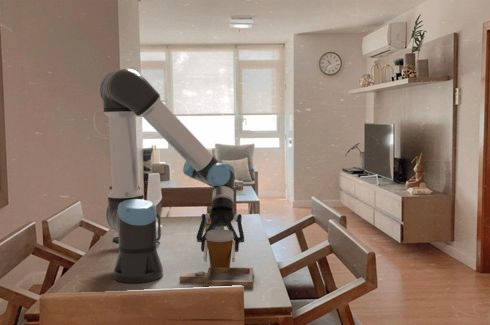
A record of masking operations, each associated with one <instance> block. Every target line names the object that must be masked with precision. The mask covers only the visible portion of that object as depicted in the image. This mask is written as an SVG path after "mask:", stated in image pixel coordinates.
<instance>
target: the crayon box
mask: <svg viewBox="0 0 490 325" xmlns="http://www.w3.org/2000/svg"><path fill="white" fill-rule="evenodd" d="M211 209H212V208H206V213H204V214H205V215H210V213H211ZM211 222H212V220H211V219H208V221H207V222H206V226H205V229H204V233H205V232H206V231H207V229H208V228H209V226H210V224H211ZM219 229H223V230H225V226H217V227H216V228H215V229H214V230H219Z"/></svg>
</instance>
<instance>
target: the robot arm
mask: <svg viewBox="0 0 490 325" xmlns="http://www.w3.org/2000/svg"><path fill="white" fill-rule="evenodd" d="M99 93H100V97H101V100H102V103H103V114H104V115H105V116H106V117H107V118H108V125H109V126H108V128H109V147H110V150H109V151H110V167H111V168H110V170H111V186H112V190H111V191H110V192H109V194H108V195H107V204H108V206H107V208H106V211H105V218H106V222H107V224H108V225H109V227H110V228H111V229H112V230H114V232H115V233H117V234H118V235H117V237H118V238H119V239H118V240H119V243H118V255H117V259H116V261H115V265H114V268H113V279H114V280H115V281H117V282H120V283H127V284H139V283H140V284H141V283H147V282H148V283H149V282H153V281H156V280H159V279H160V278H162V277H163V275H164V273H163V272H164V271H163V270H164V269H163V264H162V261H161V259H160V256H159V253H158V250H157V249H158V248H157V245H158V244H157V242H158V241H157V240H156V238H157V228H156V222H157V214H156V213H157V206H156V207H155V205H154V204H153V203H152V202H150V201H148V200H147V199H145V198H144V193H143V191H141V189H140V190H139V188H138V186H139V170H138V169H139V168H138V167H139V166H138V146H137V145H138V142H137V120H136V119H137V117H141V118H143V119H144V120H145V121H146V122H147V123H148V124H149V125H150V126H151V127H152V128H153V129H154V130H155V131H156V132H157V133H158V134H159V135H160V136H161V137H162V138H163V139H164V140H165V141H166V142H167V143H168V144H169V145H170V146H171V147H172V148H173V150H175V152H177V153H178V154H179V155H180V156H181V157H182V159H184V160H185V162H184V164H183V167H182V168H183V169H182V172H183V174H184V175H185V176H187V177H189V178H191V179H193V180H196V181H198V182H200V183H202V184H205V185H207V186H210V187H212V197H211V200H212V201H211V208H210V209H211V213H210V215H205V214H206V213H202V214H201V221H200V224H199V228H198V231H197V233H196V234H197V235H196V237H195V238H196V242H197V243H200V244H201V245H200V249H201V252H203V262H205V263H207V261H208V260H207V259H208V244H207V239H206V237H205V236H206V234H207V232H208V231H210V230H214V229H215V228H216V227H217V226H224V227H226V228H227V230H230V231H232V232H233V235H234V239H233V244H232V252H231V260H232V263H235V262H236V253H238V252H239V250H240V249H239V247H240V243H245V234H244V230H243V225H242V218H243V217H242V213H241V214H235V213H234V201H235V200H234V197H235V196H234V195H235V182H236V181H235V179H236V176H235V175H236V173H235V172H236V171H235V168H234V166H232V164H229V163H224V162H220V161H219V160H218V159H217V158H216V157H215V156H214V155H213V154H212V153H211V152H210V151H209V149H208V148H206V146H204V145H203V143H202V142H201V141H200V140H199V139H198V138H197V137H196V136H195V135H194V133H192V132H191V131H190V130H189V129H188V128H187V126H186V125H185V124H184V123H183V122H182V121H181V120H180V119H179V118H178V116H176V115H175V114H174V113H173V112H172V111H171V110H170V109H169V107H167V106H166V104H165V103H163V101H162V100H161V94H160V93H159V92H158V91H157V90H156V89H155V88H154V87H153V86H152V84H151V83H150V82H149V81H148V80H147V79H146V78H145V76H143V75H142V74H141V73H140V72H138V71H136V70H134V69H131V68H121V69H118V70H114V71H112V72H110V73H108V74H107V75H105V77H104V78H103V79H102V81H101V83H100V86H99ZM208 219H211V220H212V222H211V224H210V226H209V228H208V229H207V231H206V232H205V226H206V222H207V221H208ZM234 220H235V222H236V223H237V230H238V233H239V234H238V235H239V236H238V235H237V233H236V231H235V228H234V227H233V225H232V221H234Z"/></svg>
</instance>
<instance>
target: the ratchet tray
mask: <svg viewBox="0 0 490 325" xmlns="http://www.w3.org/2000/svg"><path fill="white" fill-rule="evenodd" d="M253 280H254V267H230V268H222V267H208V269H207V271H206V272H205V271H203V270H200V271H195V272H181V273H180V275H179V283H203V288H204V287H209V286H232V285H242V286H244V288H243V289H253V282H254V281H253Z"/></svg>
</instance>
